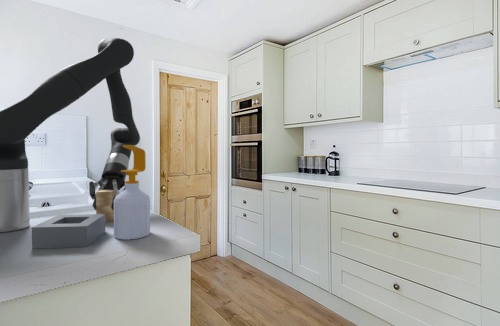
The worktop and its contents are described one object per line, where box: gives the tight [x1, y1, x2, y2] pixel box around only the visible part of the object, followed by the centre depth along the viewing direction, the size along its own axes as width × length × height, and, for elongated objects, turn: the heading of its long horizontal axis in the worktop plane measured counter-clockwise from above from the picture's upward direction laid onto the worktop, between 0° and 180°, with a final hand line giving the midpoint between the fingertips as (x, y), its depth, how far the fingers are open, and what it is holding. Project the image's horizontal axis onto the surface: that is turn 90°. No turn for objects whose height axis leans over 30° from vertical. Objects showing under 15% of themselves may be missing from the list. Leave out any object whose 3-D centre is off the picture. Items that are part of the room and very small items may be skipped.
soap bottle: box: [113, 145, 151, 241], centre depth 75 cm, size 9×9×25 cm
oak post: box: [95, 190, 115, 223], centre depth 91 cm, size 5×5×10 cm
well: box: [31, 213, 106, 250], centre depth 72 cm, size 12×12×5 cm
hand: (104, 208), depth 89 cm, fingers closed on oak post, 4 cm apart
